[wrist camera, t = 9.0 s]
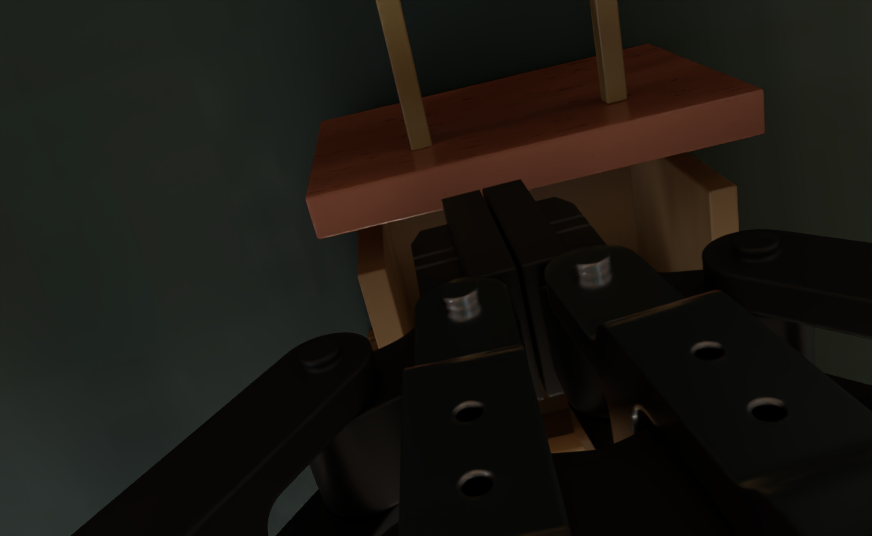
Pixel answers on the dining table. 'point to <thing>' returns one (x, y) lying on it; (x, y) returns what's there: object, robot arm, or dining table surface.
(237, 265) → the dining table surface
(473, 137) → the drawer
